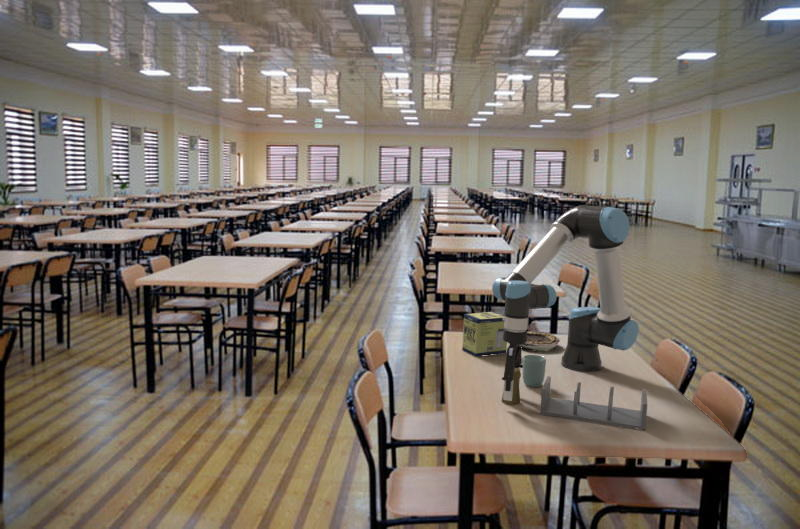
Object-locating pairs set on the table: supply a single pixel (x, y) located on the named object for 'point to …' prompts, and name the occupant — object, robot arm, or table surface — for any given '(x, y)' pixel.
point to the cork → (514, 389)
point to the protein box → (484, 334)
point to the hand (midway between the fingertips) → (511, 393)
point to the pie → (540, 341)
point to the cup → (533, 370)
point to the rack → (593, 409)
